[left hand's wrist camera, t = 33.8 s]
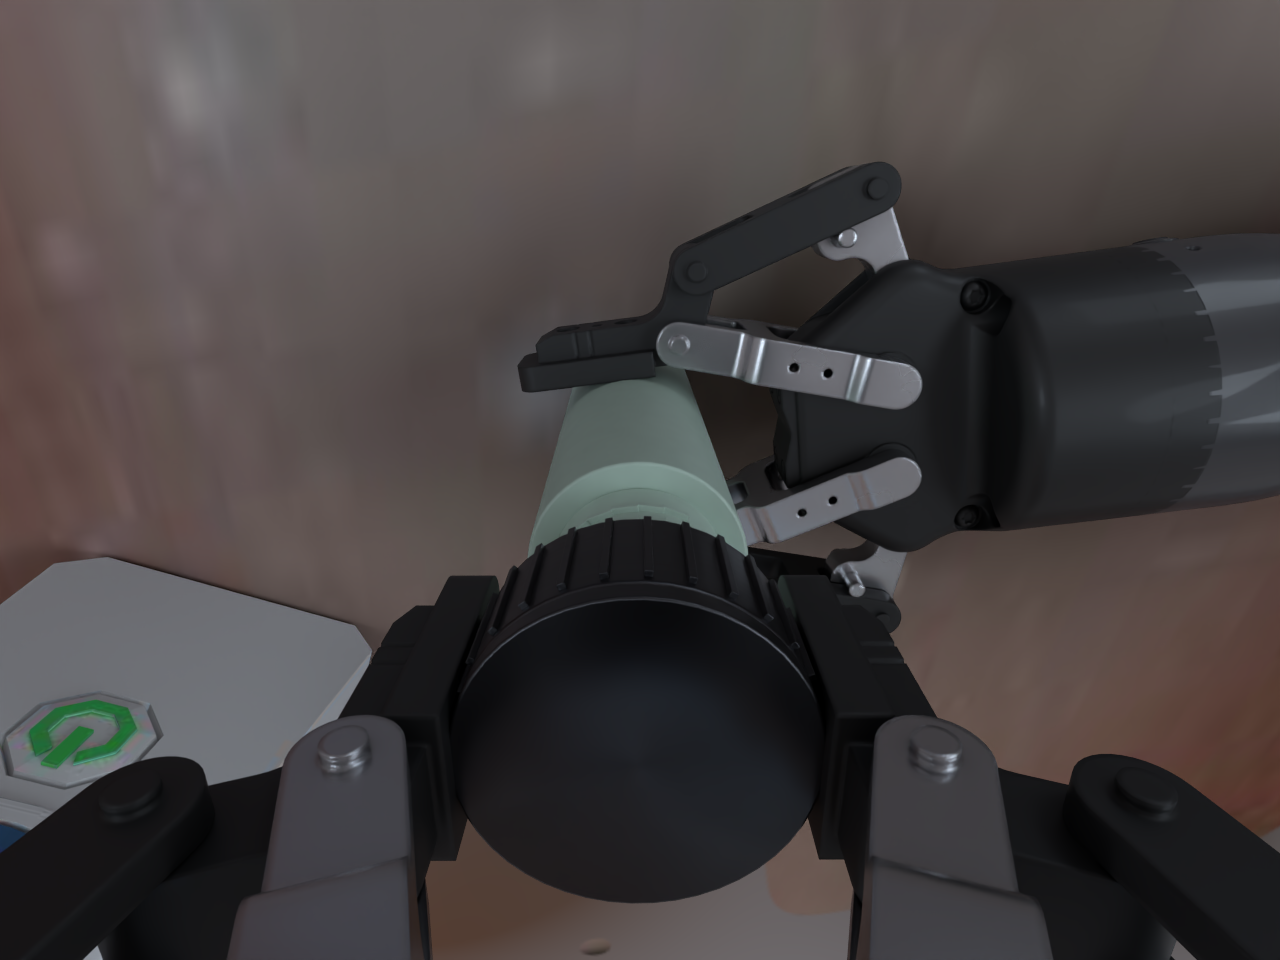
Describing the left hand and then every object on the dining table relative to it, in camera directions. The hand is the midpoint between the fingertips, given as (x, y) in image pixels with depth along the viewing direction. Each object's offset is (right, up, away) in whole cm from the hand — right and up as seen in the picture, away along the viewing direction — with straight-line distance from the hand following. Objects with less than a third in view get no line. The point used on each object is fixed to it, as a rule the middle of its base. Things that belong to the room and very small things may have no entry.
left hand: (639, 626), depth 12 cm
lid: (0, -1, -3) cm, 3 cm away
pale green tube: (0, +6, +15) cm, 16 cm away
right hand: (-3, +3, +9) cm, 10 cm away
